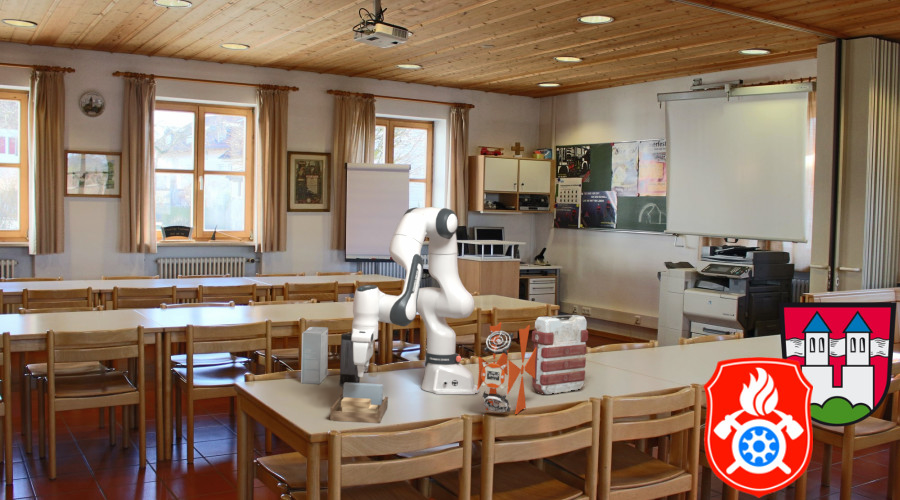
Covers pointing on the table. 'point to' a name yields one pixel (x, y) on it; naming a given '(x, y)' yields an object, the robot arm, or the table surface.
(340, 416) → the wooden tray
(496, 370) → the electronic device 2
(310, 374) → the hard drive box
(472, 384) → the robot arm
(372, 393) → the blue-grey flat box
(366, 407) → the offcut stack
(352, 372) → the electronic device
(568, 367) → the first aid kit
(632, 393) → the table surface
